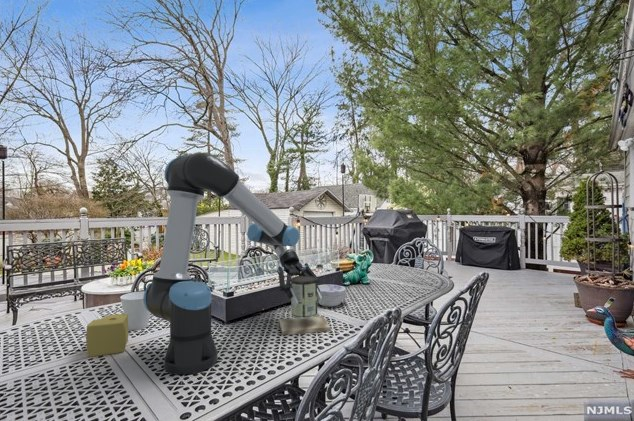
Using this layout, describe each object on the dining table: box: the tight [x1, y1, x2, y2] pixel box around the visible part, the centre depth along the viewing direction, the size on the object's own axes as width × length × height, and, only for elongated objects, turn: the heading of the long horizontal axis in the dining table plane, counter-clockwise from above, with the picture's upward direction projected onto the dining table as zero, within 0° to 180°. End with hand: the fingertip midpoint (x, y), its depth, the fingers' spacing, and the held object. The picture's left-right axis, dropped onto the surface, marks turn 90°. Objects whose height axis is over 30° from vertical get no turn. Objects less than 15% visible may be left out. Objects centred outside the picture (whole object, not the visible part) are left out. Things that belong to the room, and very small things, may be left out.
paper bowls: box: [317, 284, 347, 308], centre depth 163 cm, size 15×15×8 cm
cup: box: [119, 290, 151, 331], centre depth 133 cm, size 12×12×12 cm
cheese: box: [85, 313, 129, 358], centre depth 113 cm, size 10×11×10 cm
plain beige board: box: [278, 315, 332, 336], centre depth 133 cm, size 18×13×2 cm
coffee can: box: [290, 275, 318, 319], centre depth 133 cm, size 10×10×14 cm
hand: (308, 302), depth 130 cm, fingers closed on coffee can, 10 cm apart
